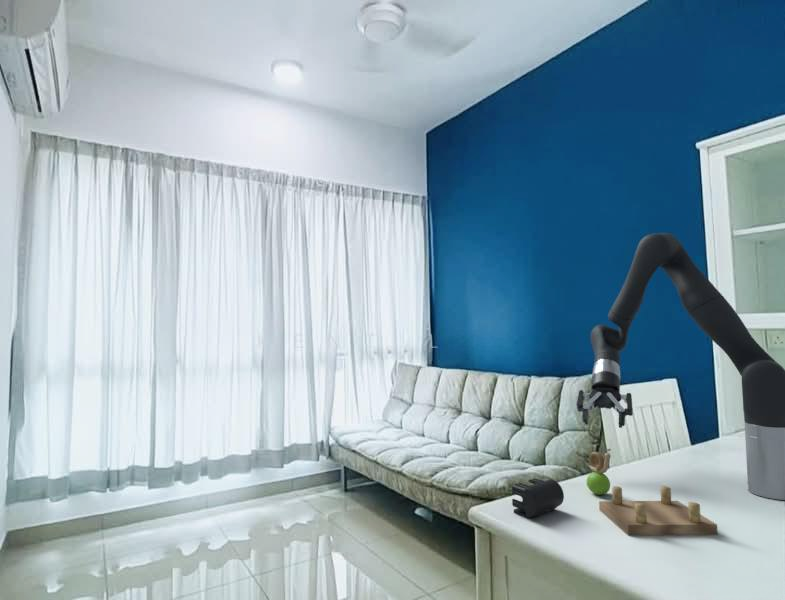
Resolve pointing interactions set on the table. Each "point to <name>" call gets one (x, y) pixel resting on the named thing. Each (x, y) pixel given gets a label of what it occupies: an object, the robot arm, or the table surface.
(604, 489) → the snail figurine
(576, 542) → the table surface
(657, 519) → the wooden peg board
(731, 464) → the table surface
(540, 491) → the end cap
